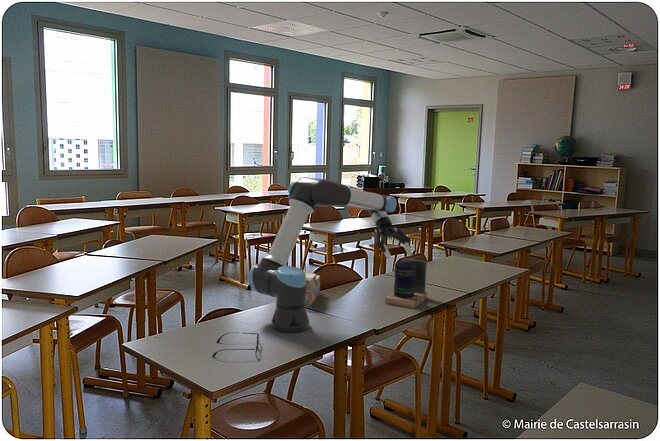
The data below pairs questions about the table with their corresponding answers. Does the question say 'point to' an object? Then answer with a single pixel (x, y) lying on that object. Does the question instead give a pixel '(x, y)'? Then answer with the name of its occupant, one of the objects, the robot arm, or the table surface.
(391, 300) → the slatted wooden block
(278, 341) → the table surface
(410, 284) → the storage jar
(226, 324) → the table surface
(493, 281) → the table surface
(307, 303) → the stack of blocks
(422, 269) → the bookend
